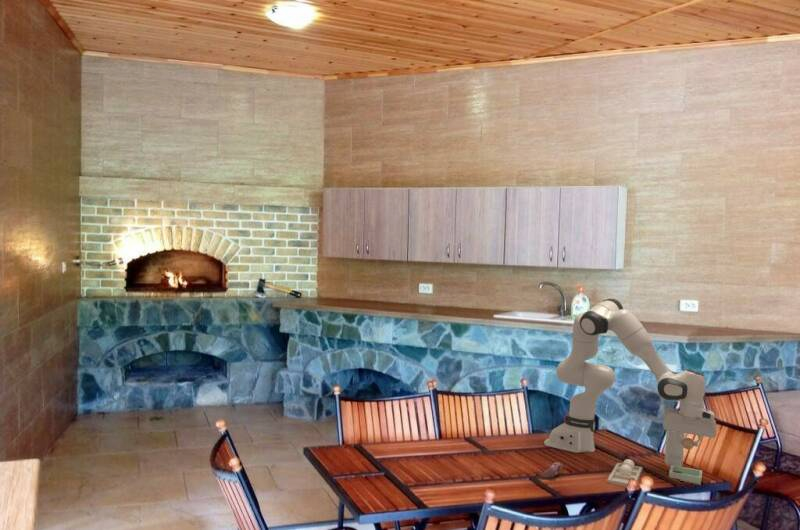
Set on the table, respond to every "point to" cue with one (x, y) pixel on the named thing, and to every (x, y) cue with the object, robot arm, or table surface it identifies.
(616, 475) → the shallow rectangular tray
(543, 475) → the brown animal figurine
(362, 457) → the table surface
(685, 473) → the dish
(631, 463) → the white egg
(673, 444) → the skincare box
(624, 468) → the white egg
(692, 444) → the brown egg
